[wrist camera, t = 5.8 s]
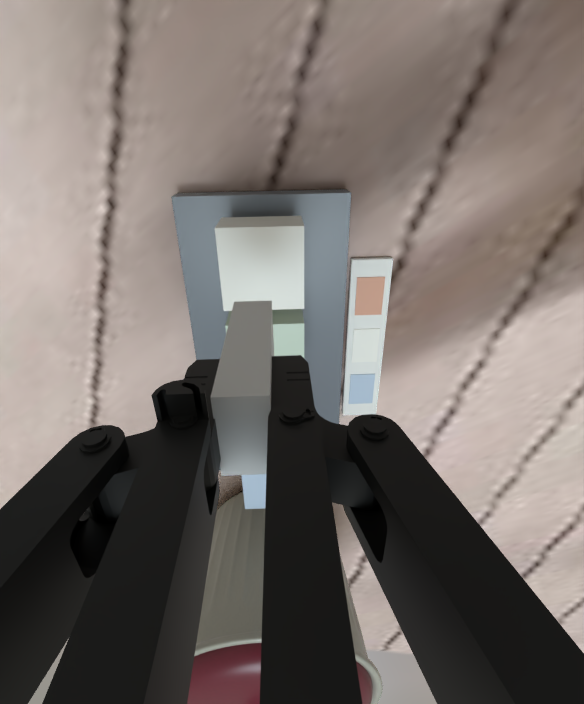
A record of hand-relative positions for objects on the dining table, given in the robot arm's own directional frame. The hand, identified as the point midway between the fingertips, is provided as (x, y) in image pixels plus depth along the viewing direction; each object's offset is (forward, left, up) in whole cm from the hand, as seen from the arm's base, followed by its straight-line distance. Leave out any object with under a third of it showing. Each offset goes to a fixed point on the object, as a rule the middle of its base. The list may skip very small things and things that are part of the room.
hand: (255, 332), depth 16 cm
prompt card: (+9, +8, -16) cm, 20 cm away
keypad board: (+9, 0, -16) cm, 18 cm away
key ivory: (0, 0, -11) cm, 11 cm away
